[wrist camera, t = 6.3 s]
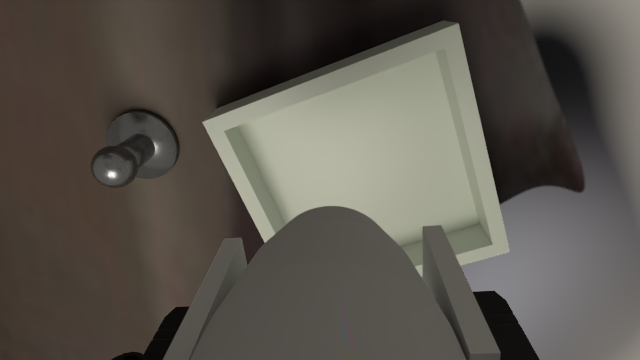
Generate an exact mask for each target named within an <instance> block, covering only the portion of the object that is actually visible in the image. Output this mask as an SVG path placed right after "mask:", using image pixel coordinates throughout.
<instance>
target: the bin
mask: <svg viewBox="0 0 640 360" xmlns="http://www.w3.org/2000/svg"><path fill="white" fill-rule="evenodd" d="M203 124H204V126H205V128H206V130H207V132H208V134H209V136H210V138H211V140H212V142H213V144H214V146H215V148H216V149H217V151H218V153H219V155H220V157H221V159H222V161H223V163H224V165H225V167H226V169H227V171H228V173H229V175H230V176H231V178H232V180H233V182H234V184H235V186H236V188H237V190H238V192H239V194H240V196H241V198H242V200H243V202H244V203H245V205H246V207H247V209H248V211H249V213H250V215H251V217H252V219H253V221H254V223H255V225H256V227H257V229H258V230H259V232H260V234H261V236H262V238H263V240H264V242H265V243H266V242H267V241H268V240H269V239H270V238H271V237H272V236H274V235H275V234H276V233H277V232H278V231H279V230H280V229H282V228H283V227H284V226H285V225H286V224H287V223H289V222H290V221H291V220H292V219H293V218H295V217H296V216H298V215H299V214H301V213H303V212H305V211H307V210H310V209H313V208H317V207H323V206H341V207H346V208H350V209H354V210H356V211H359V212H361V213H363V214H365V215H366V216H368V217H369V218H371V219H372V220H373V221H375V222H376V223H377V224H378V225H379V226H380V227H381V228H382V229H383V230H384V231H385V232H386V233H387V234H388V235H389V236H390V237H391V238H392V239H393V240H394V241H395V242H396V243H397V244H398V245H399V246H400V247H401V248H402V249H403V250H404V251H405V253H406V254H407V255H408V257H409V258H410V260H411V261H412V263H413V265H414V266H415V268H416V269H417V271H418V273H419V274H420V276H423V226H436V225H442V228H443V230H444V232H445V234H446V236H447V238H448V241H449V243H450V245H451V247H452V249H453V251H454V253H455V256H456V258H457V260H458V262H459V264H460V265H464V264H468V263H471V262H475V261H479V260H482V259H486V258H490V257H493V256H497V255H501V254H504V253H508V252H510V250H509V246H508V241H507V237H506V232H505V228H504V223H503V219H502V214H501V211H500V205H499V201H498V197H497V192H496V188H495V183H494V179H493V174H492V170H491V165H490V161H489V157H488V152H487V148H486V143H485V139H484V134H483V130H482V126H481V121H480V117H479V112H478V108H477V103H476V99H475V94H474V90H473V86H472V81H471V77H470V72H469V68H468V63H467V59H466V54H465V50H464V46H463V41H462V37H461V32H460V28H459V23H454V22H449V21H445V20H443V21H440V22H438V23H435V24H433V25H430V26H427V27H425V28H422V29H420V30H417V31H415V32H412V33H409V34H407V35H404V36H402V37H399V38H397V39H394V40H391V41H389V42H386V43H384V44H381V45H379V46H376V47H373V48H371V49H368V50H366V51H363V52H361V53H358V54H355V55H353V56H350V57H348V58H345V59H343V60H340V61H337V62H335V63H332V64H330V65H327V66H325V67H322V68H319V69H317V70H314V71H312V72H309V73H307V74H304V75H301V76H299V77H296V78H294V79H291V80H289V81H286V82H283V83H281V84H278V85H276V86H273V87H271V88H268V89H265V90H263V91H260V92H258V93H255V94H253V95H250V96H248V97H245V98H242V99H240V100H237V101H235V102H232V103H230V104H227V105H224V106H222V107H219V108H217V109H216V110H215V111H214V112H212V113H211V114H210V115H209V116H208V117H207V118H206V119H205V120H204V121H203Z"/></svg>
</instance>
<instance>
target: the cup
mask: <svg viewBox="0 0 640 360" xmlns="http://www.w3.org/2000/svg"><path fill="white" fill-rule="evenodd" d="M190 360H466V358H465V355H464V353H463V351H462V349H461V346H460V344H459V342H458V340H457V337H456V335H455V333H454V331H453V329H452V327H451V325H450V323H449V321H448V320H447V318H446V316H445V315H444V313H443V312H442V310H441V308H440V307H439V305H438V304H437V302H436V300H435V299H434V297H433V295H432V294H431V292H430V291H429V289H428V287H427V286H426V284H425V282H424V281H423V279H422V278H421V276H420V274H419V273H418V271H417V269H416V268H415V266H414V265H413V263H412V261H411V260H410V258H409V257H408V255H407V254H406V253H405V251H404V250H403V249H402V248H401V247H400V246H399V245H398V244H397V243H396V242H395V241H394V240H393V239H392V238H391V237H390V236H389V235H388V234H387V233H386V232H385V231H384V230H383V229H382V228H381V227H380V226H379V225H378V224H377V223H376V222H375V221H373V220H372V219H371V218H369V217H368V216H366V215H365V214H363V213H361V212H359V211H356V210H354V209H350V208H346V207H341V206H323V207H317V208H313V209H310V210H307V211H305V212H303V213H301V214H299V215H298V216H296V217H295V218H293V219H292V220H291V221H290V222H289V223H287V224H286V225H285V226H284V227H283V228H282V229H280V230H279V231H278V232H277V233H276V234H275V235H274V236H272V237H271V238H270V239H269V240H268V241H267V242H266V243H265V244H264V245H263V246H262V247H261V248H260V249H259V250H258V251H257V253H256V254H255V256H254V257H253V259H252V260H251V261H250V263H249V264H248V266H247V267H246V269H245V270H244V271H243V273H242V274H241V276H240V277H239V279H238V280H237V281H236V283H235V284H234V286H233V287H232V289H231V290H230V291H229V293H228V294H227V296H226V297H225V299H224V300H223V302H222V303H221V304H220V306H219V307H218V309H217V310H216V312H215V313H214V315H213V316H212V318H211V320H210V322H209V324H208V325H207V327H206V329H205V331H204V333H203V335H202V337H201V339H200V341H199V343H198V345H197V347H196V349H195V351H194V353H193V355H192V357H191V359H190Z"/></svg>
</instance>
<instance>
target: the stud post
mask: <svg viewBox="0 0 640 360" xmlns="http://www.w3.org/2000/svg"><path fill="white" fill-rule="evenodd" d="M106 144H107V147H105V148H102V149H101V150H99V151H98V152H97V153H96V154H95V155H94V157H93V159H92V162H91V171H92V174H93V176H94V178H95V179H96V180H97V181H98V182H99V183H101V184H102V185H104V186H107V187H111V188H119V187H123V186H126V185H128V184H129V183H131V182H132V181H133V180H134V179H135V177H139V178H145V179H152V178H157V177H160V176H162V175H164V174H165V173H167V172H168V171H169V170H170V169H171V168H172V167H173V166H174V164H175V163H176V161H177V159H178V156H179V142H178V138H177V136H176V134H175V132H174V130H173V129H172V127H171V126H170V125H169V124H168V123H167V122H166V121H165V120H164V119H162V118H161V117H159V116H158V115H156V114H154V113H151V112H148V111H142V110H134V111H130V112H126V113H124V114H123V115H121V116H119V117H117V118H116V119H115V120H114V121H113V122H112V123H111V124H110V126H109V128H108V130H107V134H106Z"/></svg>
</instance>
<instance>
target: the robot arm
mask: <svg viewBox="0 0 640 360" xmlns="http://www.w3.org/2000/svg"><path fill="white" fill-rule="evenodd" d="M246 267H247V262H246V257H245V253H244V248H243V243H242V238H228V239H224V240H223V242H222V244H221V246H220V248H219V250H218V252H217V254H216V256H215V258H214V260H213V262H212V264H211V266H210V268H209V270H208V272H207V274H206V276H205V277H204V279H203V281H202V283H201V285H200V287H199V289H198V291H197V293H196V295H195V297H194V299H193V301H192V303H191V305H190V307H176V308H174V309H173V310H172V311H171V312H170V313H169V314H168V315H167V316H166V317H165V318H164V320H163V321H162V323H161V325H160V327H159V328H158V331H157V332H156V334H155V335H154V337H153V341H151V342H150V344H149V346H148V348H147V349H146V351H145V353H144V355H143V354H141V353H138V352H129V353H124V354H122V355H119V356H117V357H115V358H113V359H112V360H190V359H191V357H192V355H193V353H194V351H195V349H196V347H197V345H198V343H199V341H200V339H201V337H202V335H203V333H204V331H205V329H206V327H207V325H208V324H209V322H210V320H211V318H212V316H213V315H214V313H215V312H216V310H217V309H218V307H219V306H220V304H221V303H222V302H223V300H224V299H225V297H226V296H227V294H228V293H229V291H230V290H231V289H232V287H233V286H234V284H235V283H236V281H237V280H238V279H239V277H240V276H241V274H242V273H243V271H244V270H245V269H246ZM423 281H424V282H425V284H426V286H427V287H428V289H429V291H430V292H431V294H432V295H433V297H434V299H435V300H436V302H437V304H438V305H439V307H440V308H441V310H442V312H443V313H444V315H445V316H446V318H447V320H448V321H449V323H450V325H451V327H452V329H453V331H454V333H455V335H456V337H457V340H458V342H459V344H460V346H461V349H462V351H463V353H464V355H465V358H466V360H539V358H538V356H537V354H536V353H535V351H534V349H533V348H532V346H531V344H530V342H529V340H528V339H527V337H526V335H525V333H524V331H523V330H522V328H521V326H520V325H519V324H518V321H517V319H516V317H515V316H514V315H513V312H512V310H511V308H510V307H509V305H508V303H507V301H506V300H505V299H503V298H502V297H501V296H500V295H499V294H497V293H496V292H495V291H481V292H472V290H471V288H470V286H469V284H468V282H467V279H466V277H465V275H464V273H463V271H462V268H461V267H460V264H459V262H458V260H457V258H456V256H455V253H454V251H453V249H452V247H451V245H450V243H449V241H448V238H447V236H446V234H445V232H444V230H443V228H442V225H436V226H423Z"/></svg>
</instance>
